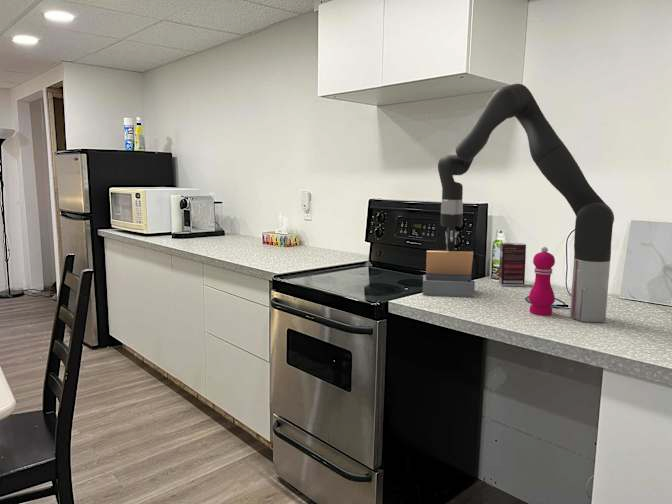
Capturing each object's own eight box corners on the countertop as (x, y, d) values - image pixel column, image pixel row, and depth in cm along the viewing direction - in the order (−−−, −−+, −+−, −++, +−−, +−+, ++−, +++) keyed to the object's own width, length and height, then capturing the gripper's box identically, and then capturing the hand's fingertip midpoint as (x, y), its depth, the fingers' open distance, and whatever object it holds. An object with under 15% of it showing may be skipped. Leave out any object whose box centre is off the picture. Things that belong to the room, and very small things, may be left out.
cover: (473, 253, 175) (473, 251, 176) (426, 251, 178) (426, 250, 179) (470, 276, 182) (470, 274, 183) (425, 274, 185) (425, 273, 185)
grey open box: (473, 296, 172) (473, 282, 171) (422, 295, 175) (423, 280, 174) (470, 290, 183) (470, 276, 182) (422, 288, 185) (423, 274, 185)
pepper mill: (538, 316, 147) (542, 249, 145) (522, 310, 154) (526, 245, 151) (559, 315, 149) (563, 248, 146) (543, 309, 156) (547, 245, 153)
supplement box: (521, 284, 193) (523, 242, 191) (524, 286, 188) (526, 244, 186) (497, 283, 194) (499, 242, 192) (500, 286, 189) (502, 244, 187)
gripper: (440, 210, 185) (439, 257, 188) (441, 213, 172) (439, 263, 175) (461, 211, 184) (459, 257, 187) (463, 214, 171) (462, 264, 174)
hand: (450, 260), depth 181 cm, fingers closed
